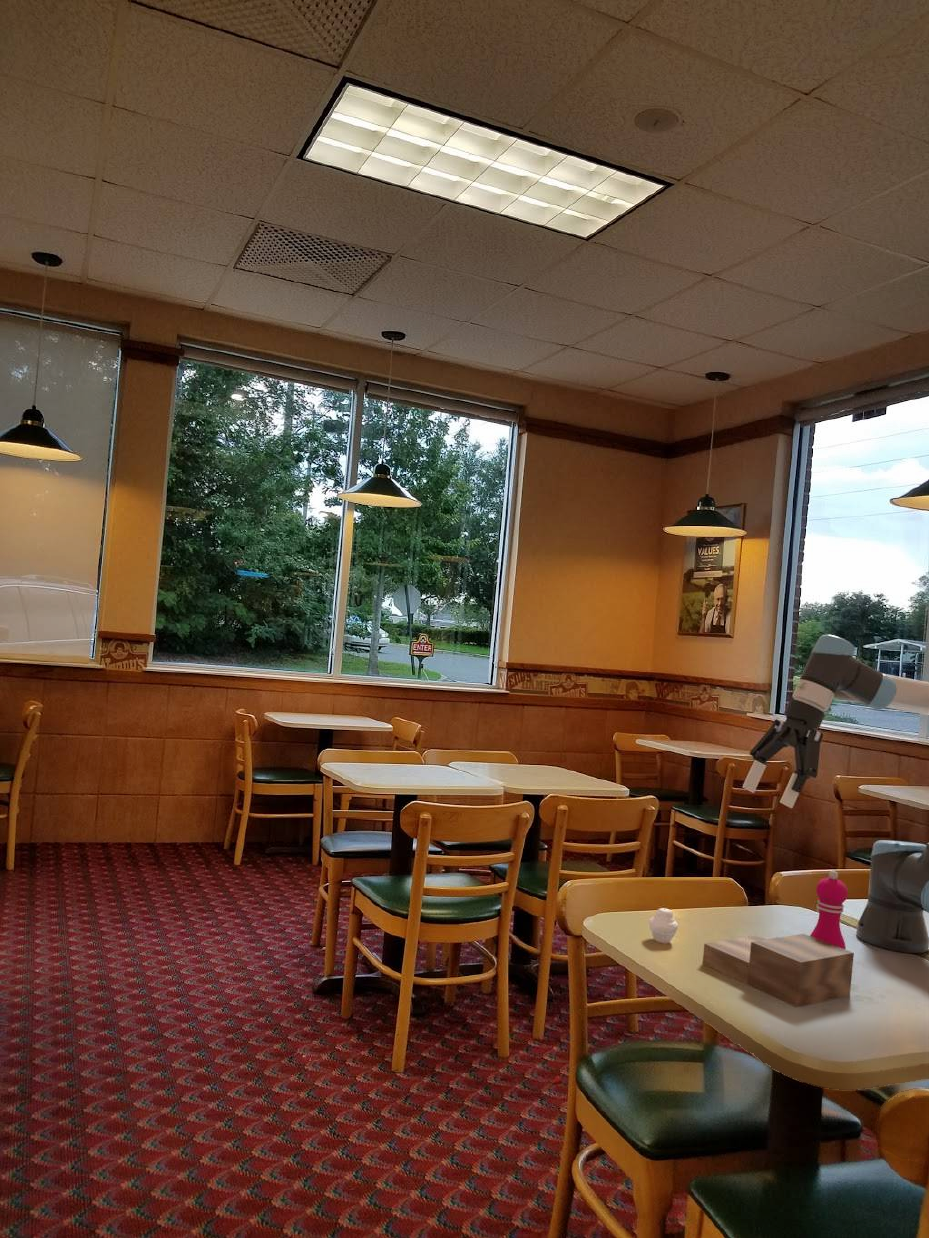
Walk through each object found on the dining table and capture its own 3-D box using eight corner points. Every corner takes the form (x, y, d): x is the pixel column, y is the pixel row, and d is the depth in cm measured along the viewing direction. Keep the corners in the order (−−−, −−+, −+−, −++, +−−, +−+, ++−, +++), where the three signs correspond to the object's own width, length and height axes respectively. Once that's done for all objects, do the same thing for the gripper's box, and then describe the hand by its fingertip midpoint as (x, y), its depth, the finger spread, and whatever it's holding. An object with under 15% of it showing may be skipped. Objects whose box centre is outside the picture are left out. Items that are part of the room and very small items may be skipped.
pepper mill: (847, 978, 183) (856, 877, 183) (808, 972, 184) (818, 872, 184) (839, 966, 190) (848, 869, 190) (803, 960, 191) (812, 864, 191)
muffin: (682, 944, 193) (686, 911, 194) (661, 947, 190) (664, 913, 190) (662, 934, 199) (665, 902, 199) (641, 937, 196) (644, 904, 196)
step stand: (754, 954, 192) (758, 916, 192) (849, 995, 173) (853, 952, 173) (702, 963, 183) (706, 923, 183) (796, 1007, 164) (801, 962, 164)
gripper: (760, 690, 203) (720, 777, 202) (833, 705, 179) (788, 804, 177) (786, 704, 205) (746, 791, 203) (862, 722, 181) (817, 819, 179)
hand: (766, 797), depth 190 cm, fingers open, 13 cm apart
